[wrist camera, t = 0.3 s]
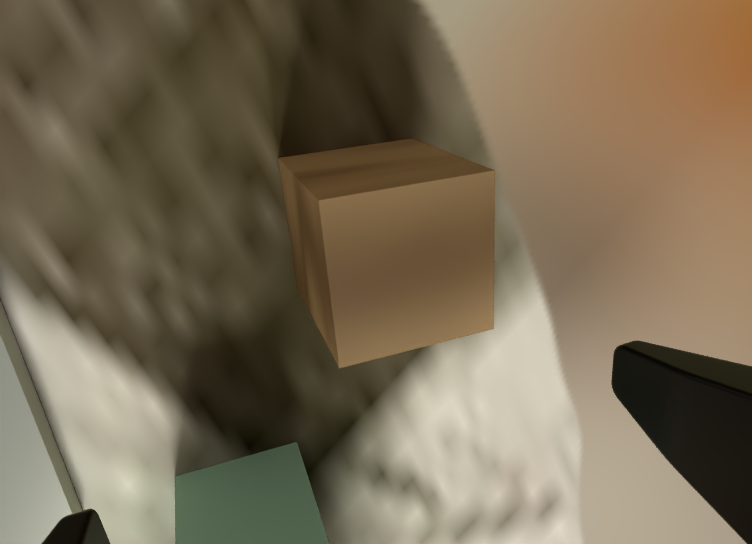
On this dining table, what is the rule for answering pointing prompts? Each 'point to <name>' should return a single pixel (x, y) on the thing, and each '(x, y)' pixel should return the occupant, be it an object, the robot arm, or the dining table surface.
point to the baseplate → (27, 455)
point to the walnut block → (391, 246)
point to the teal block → (249, 502)
